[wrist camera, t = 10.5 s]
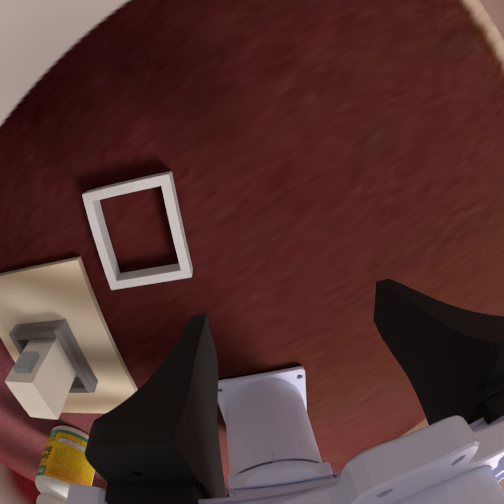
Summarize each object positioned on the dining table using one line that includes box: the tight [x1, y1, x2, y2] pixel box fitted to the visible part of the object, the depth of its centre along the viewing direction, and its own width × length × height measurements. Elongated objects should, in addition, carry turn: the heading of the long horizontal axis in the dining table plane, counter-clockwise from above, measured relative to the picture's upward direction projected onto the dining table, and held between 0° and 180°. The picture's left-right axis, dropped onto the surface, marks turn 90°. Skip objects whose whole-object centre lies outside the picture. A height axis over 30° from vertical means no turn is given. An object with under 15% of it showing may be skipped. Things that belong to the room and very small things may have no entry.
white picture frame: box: [82, 171, 193, 290], centre depth 20 cm, size 7×6×1 cm
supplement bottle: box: [35, 425, 95, 504], centre depth 24 cm, size 6×6×11 cm
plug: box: [5, 337, 76, 420], centre depth 20 cm, size 4×3×6 cm, turn 6°
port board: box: [0, 257, 138, 413], centre depth 22 cm, size 16×12×2 cm
